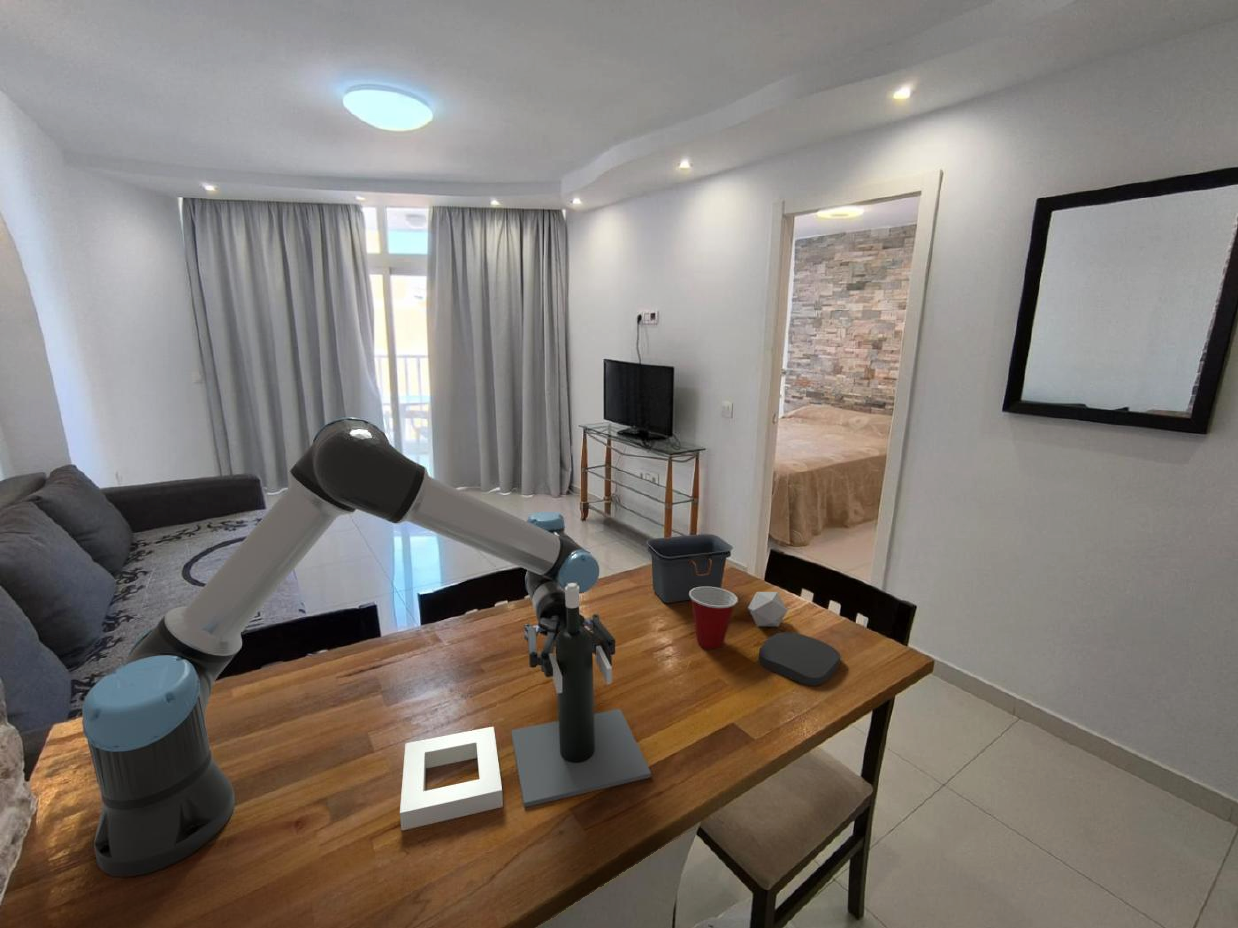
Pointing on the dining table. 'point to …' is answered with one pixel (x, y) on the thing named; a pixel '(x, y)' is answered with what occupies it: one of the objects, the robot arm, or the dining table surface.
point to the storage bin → (687, 564)
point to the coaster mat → (559, 778)
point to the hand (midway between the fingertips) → (584, 680)
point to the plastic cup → (711, 614)
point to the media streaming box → (799, 658)
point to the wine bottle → (575, 684)
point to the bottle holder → (454, 798)
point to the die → (767, 609)
